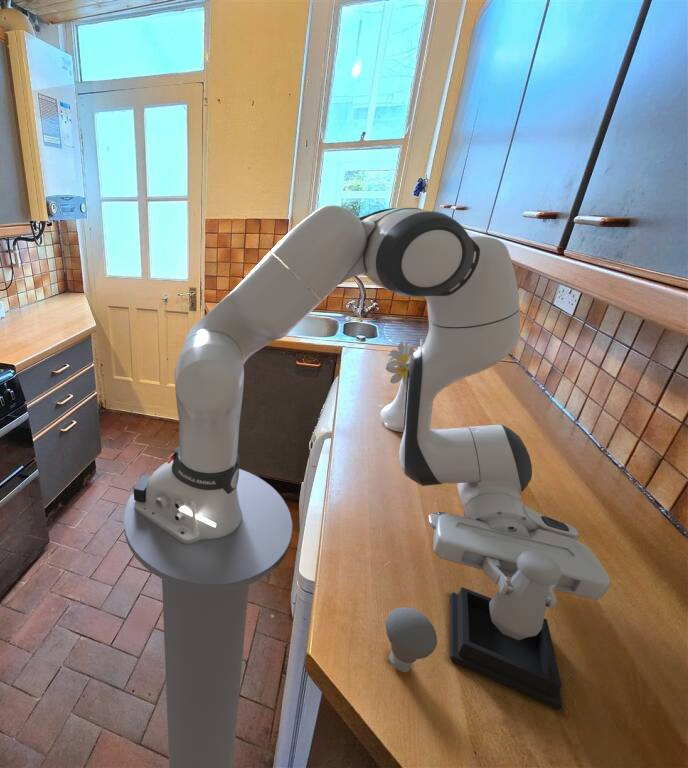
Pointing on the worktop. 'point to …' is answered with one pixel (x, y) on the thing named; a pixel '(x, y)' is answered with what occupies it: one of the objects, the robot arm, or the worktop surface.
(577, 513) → the worktop surface
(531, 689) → the pad
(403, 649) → the light bulb
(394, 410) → the flower vase
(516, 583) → the salt shaker
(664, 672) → the worktop surface
